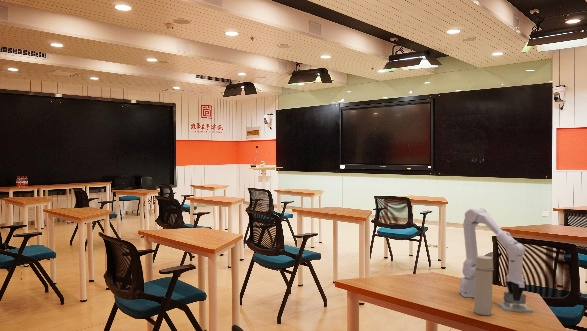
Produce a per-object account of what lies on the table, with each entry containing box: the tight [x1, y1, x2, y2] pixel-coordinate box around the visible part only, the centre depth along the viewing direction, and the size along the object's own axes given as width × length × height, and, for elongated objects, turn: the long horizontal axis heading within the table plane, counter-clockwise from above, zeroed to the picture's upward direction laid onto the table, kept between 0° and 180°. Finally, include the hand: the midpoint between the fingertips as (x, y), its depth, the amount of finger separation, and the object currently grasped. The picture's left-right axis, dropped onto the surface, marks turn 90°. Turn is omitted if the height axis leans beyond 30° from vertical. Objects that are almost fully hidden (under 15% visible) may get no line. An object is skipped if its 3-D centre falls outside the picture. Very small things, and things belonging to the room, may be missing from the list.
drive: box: [503, 291, 527, 305], centre depth 203 cm, size 8×4×4 cm, turn 86°
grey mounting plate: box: [496, 298, 533, 313], centre depth 203 cm, size 12×9×3 cm
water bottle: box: [473, 255, 495, 317], centre depth 196 cm, size 9×8×25 cm
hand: (514, 299), depth 203 cm, fingers closed on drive, 4 cm apart
